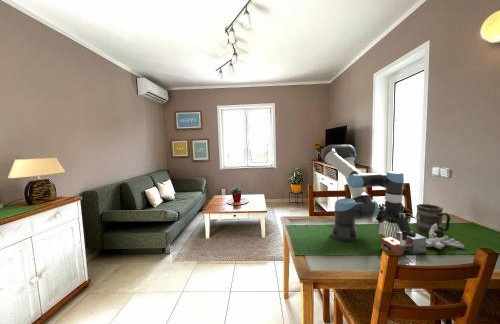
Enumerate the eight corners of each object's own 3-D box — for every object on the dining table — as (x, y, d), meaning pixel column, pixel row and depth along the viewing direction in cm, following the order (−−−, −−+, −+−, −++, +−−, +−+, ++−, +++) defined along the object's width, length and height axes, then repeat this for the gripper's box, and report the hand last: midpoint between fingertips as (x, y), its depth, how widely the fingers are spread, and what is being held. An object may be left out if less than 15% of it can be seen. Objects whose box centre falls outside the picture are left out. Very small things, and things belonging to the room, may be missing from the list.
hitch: (408, 243, 126) (408, 227, 125) (425, 252, 116) (426, 234, 115) (379, 247, 122) (379, 231, 121) (394, 256, 112) (395, 239, 111)
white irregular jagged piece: (409, 223, 132) (440, 223, 134) (407, 236, 133) (437, 235, 135) (438, 239, 113) (473, 239, 115) (435, 254, 115) (470, 253, 116)
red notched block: (390, 247, 122) (390, 236, 121) (403, 254, 114) (403, 243, 114) (381, 248, 121) (381, 237, 120) (393, 255, 113) (393, 244, 112)
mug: (410, 225, 152) (411, 204, 150) (427, 224, 154) (428, 203, 153) (439, 237, 132) (440, 213, 131) (457, 235, 135) (459, 211, 133)
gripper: (422, 207, 104) (419, 249, 106) (381, 194, 128) (379, 229, 130) (409, 209, 102) (406, 251, 105) (369, 195, 127) (368, 230, 129)
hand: (391, 239), depth 118 cm, fingers open, 13 cm apart
